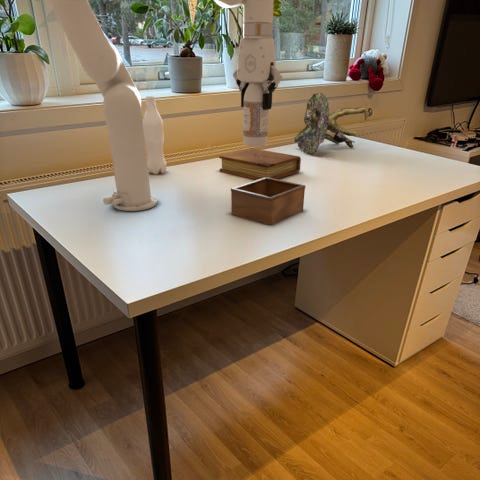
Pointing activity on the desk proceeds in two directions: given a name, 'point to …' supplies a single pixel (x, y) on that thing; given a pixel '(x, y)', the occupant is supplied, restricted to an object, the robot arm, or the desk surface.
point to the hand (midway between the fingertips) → (256, 107)
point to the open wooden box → (267, 200)
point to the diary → (260, 164)
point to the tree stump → (323, 125)
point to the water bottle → (154, 137)
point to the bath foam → (255, 116)
